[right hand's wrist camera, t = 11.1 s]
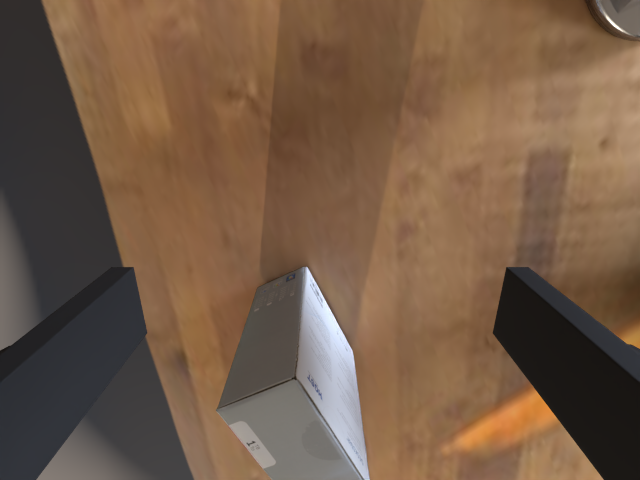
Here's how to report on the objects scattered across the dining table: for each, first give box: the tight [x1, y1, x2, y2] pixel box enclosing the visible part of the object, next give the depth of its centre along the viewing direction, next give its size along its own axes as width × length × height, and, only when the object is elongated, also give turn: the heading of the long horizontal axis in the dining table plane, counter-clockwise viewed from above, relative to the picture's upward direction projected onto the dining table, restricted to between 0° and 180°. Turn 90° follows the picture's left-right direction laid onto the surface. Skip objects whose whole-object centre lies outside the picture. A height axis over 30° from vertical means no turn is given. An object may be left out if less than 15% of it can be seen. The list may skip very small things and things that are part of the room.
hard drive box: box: [216, 267, 370, 480], centre depth 39 cm, size 16×8×20 cm, turn 26°
